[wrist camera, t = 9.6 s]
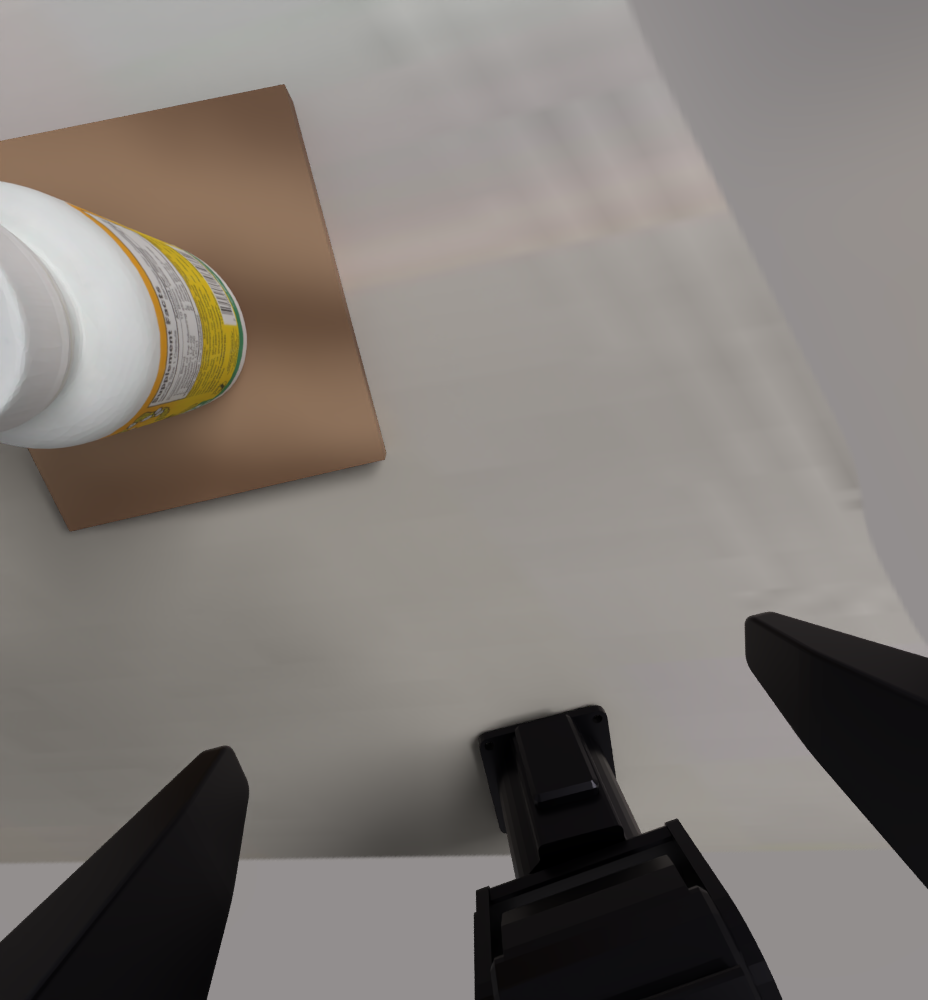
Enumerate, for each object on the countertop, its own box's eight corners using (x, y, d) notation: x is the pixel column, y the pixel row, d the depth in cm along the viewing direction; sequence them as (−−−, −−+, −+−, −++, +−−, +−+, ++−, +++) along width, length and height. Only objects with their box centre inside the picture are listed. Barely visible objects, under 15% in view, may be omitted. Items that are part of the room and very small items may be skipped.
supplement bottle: (264, 276, 17) (92, 198, 8) (235, 429, 18) (60, 518, 9) (88, 218, 16) (-354, 46, 7) (72, 385, 17) (-313, 434, 8)
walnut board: (386, 452, 20) (384, 459, 19) (89, 520, 20) (69, 531, 19) (292, 102, 16) (284, 84, 15) (-79, 176, 16) (-116, 164, 15)
